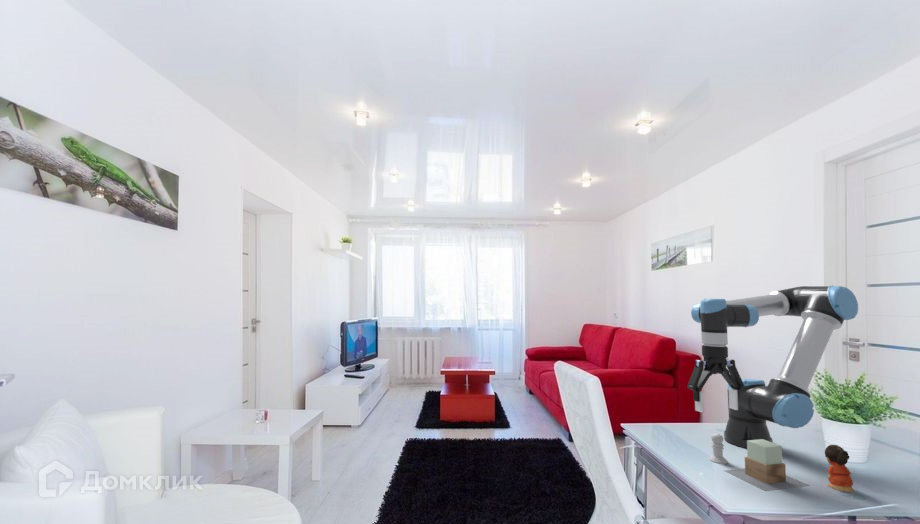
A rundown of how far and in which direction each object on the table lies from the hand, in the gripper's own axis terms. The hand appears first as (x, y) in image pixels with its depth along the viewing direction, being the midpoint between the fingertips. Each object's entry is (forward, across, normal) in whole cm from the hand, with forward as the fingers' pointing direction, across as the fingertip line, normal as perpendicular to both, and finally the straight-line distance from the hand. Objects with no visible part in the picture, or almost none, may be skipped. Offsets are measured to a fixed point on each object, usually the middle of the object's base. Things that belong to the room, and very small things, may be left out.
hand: (716, 410), depth 142 cm
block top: (+11, -3, +14) cm, 18 cm away
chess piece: (+17, 0, 0) cm, 17 cm away
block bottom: (+16, -3, +14) cm, 22 cm away
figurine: (+17, -18, +24) cm, 34 cm away
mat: (+16, -3, +14) cm, 22 cm away
